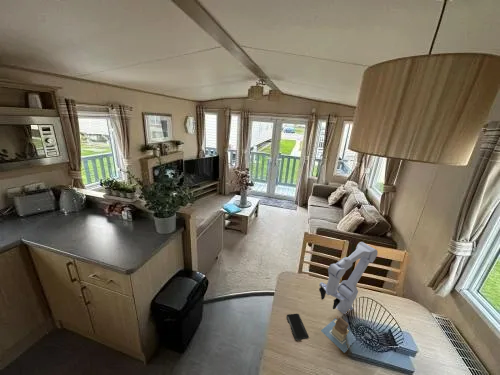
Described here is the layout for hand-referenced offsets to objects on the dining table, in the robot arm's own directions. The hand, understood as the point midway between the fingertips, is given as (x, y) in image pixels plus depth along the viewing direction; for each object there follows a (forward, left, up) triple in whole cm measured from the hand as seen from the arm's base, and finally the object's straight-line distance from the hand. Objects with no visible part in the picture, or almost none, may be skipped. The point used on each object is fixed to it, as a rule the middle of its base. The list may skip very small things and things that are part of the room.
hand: (328, 303), depth 122 cm
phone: (+19, -5, -11) cm, 22 cm away
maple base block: (+3, +11, -10) cm, 15 cm away
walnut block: (+3, +11, -6) cm, 13 cm away
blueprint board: (+3, +11, -10) cm, 15 cm away
